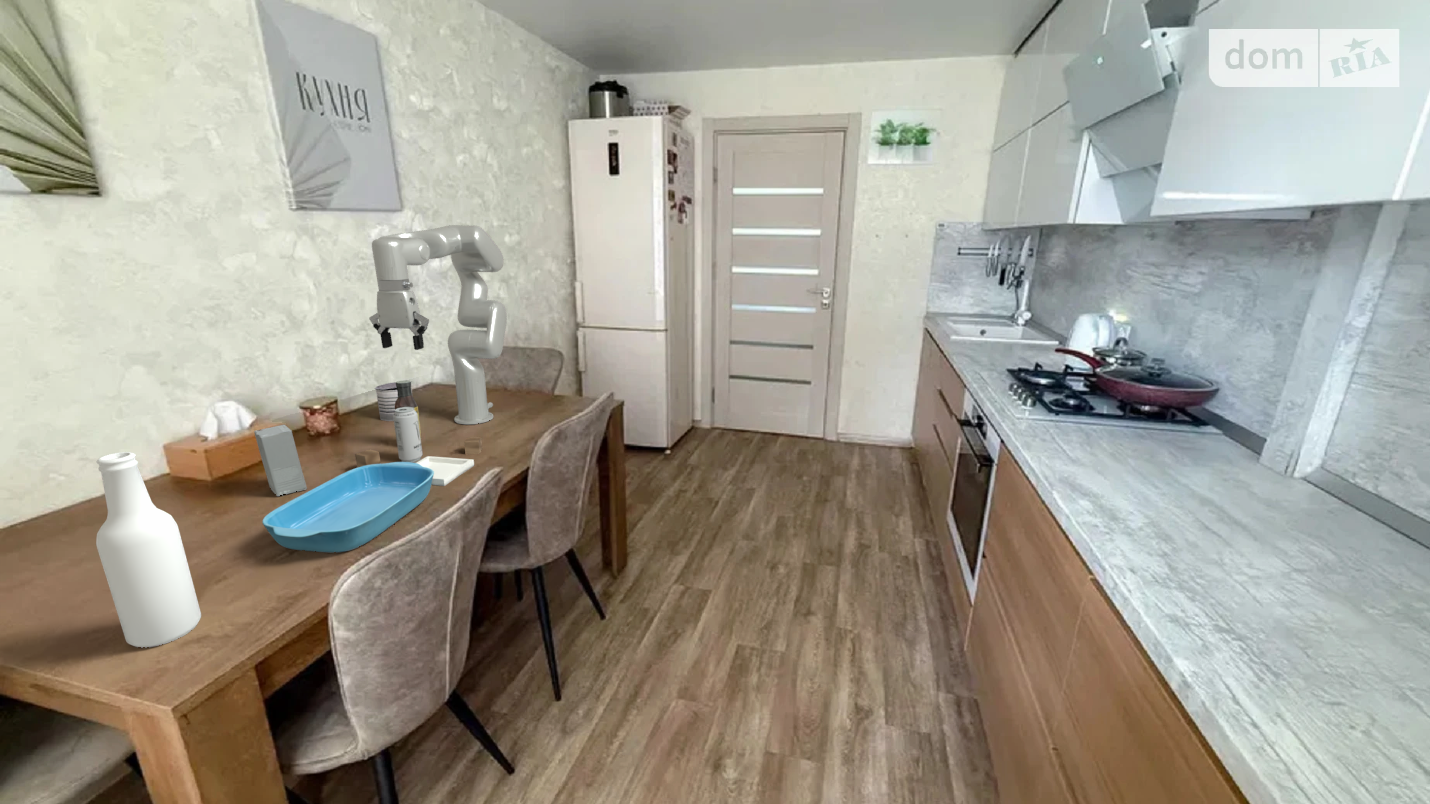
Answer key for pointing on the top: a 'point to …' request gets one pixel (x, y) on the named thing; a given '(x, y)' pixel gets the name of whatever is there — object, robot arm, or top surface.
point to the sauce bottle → (405, 397)
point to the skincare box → (280, 460)
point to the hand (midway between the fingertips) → (403, 348)
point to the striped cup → (387, 400)
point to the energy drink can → (407, 434)
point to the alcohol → (143, 559)
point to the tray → (446, 468)
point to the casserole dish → (350, 507)
